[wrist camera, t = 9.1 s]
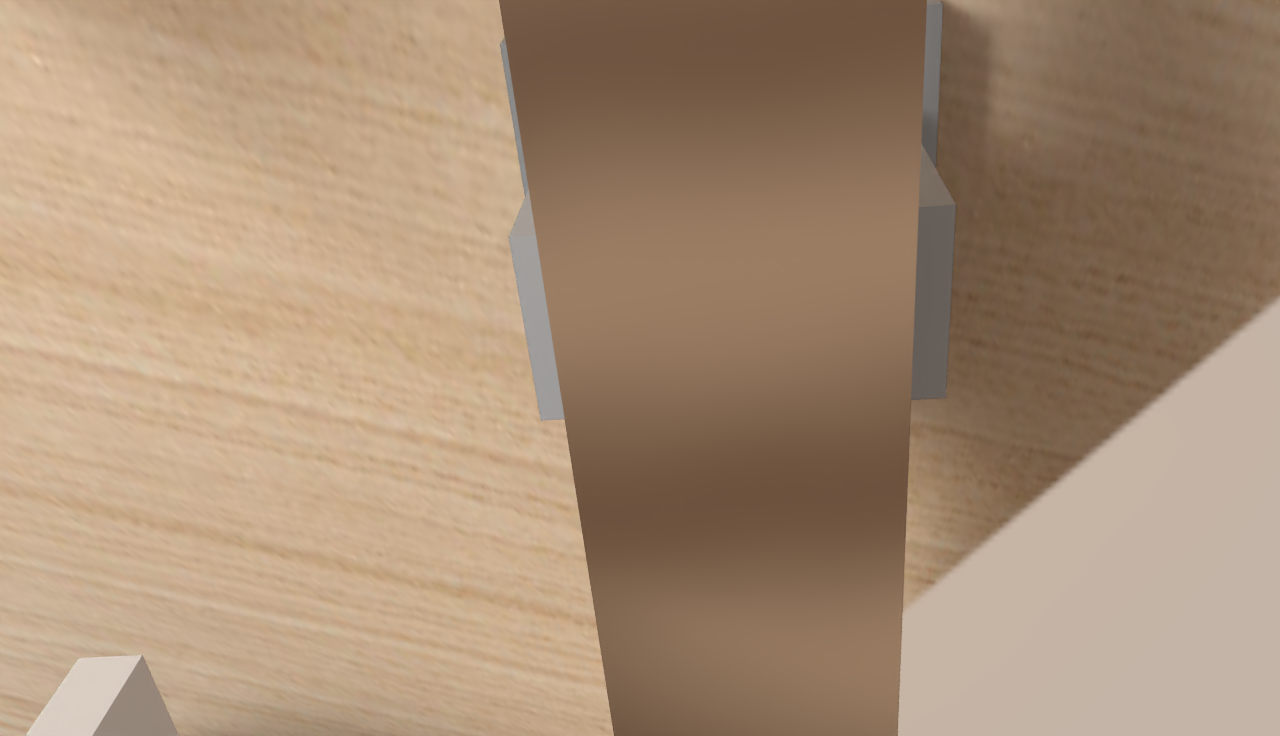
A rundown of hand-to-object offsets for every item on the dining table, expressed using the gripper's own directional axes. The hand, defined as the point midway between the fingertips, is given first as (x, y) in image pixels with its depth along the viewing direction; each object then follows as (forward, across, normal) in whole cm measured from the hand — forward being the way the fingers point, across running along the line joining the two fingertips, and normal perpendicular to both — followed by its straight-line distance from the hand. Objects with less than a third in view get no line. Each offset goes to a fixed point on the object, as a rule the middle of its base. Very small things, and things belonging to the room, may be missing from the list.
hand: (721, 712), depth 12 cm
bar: (+9, 0, -1) cm, 9 cm away
